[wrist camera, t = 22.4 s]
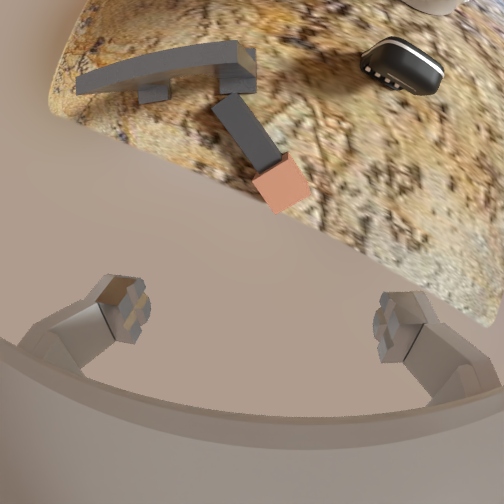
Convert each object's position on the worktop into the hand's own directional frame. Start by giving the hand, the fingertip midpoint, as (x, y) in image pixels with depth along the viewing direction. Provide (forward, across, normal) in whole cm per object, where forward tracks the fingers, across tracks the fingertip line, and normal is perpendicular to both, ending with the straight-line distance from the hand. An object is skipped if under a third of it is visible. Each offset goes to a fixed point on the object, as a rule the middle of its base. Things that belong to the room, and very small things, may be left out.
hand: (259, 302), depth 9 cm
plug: (+29, +2, 0) cm, 29 cm away
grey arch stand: (+29, +11, -10) cm, 33 cm away
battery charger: (+29, -13, -12) cm, 34 cm away
